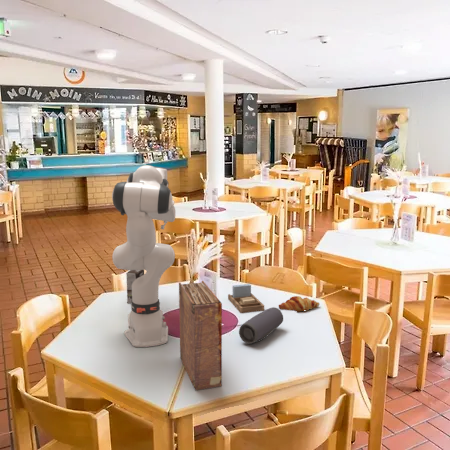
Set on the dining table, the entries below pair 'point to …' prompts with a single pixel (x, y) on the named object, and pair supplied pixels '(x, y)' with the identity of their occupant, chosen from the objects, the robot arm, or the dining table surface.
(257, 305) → the wooden tray
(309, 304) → the croissant
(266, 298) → the dining table surface
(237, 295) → the blue-grey square slab
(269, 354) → the dining table surface
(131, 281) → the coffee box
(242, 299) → the offcut top
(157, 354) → the dining table surface
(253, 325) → the bluetooth speaker
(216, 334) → the book
